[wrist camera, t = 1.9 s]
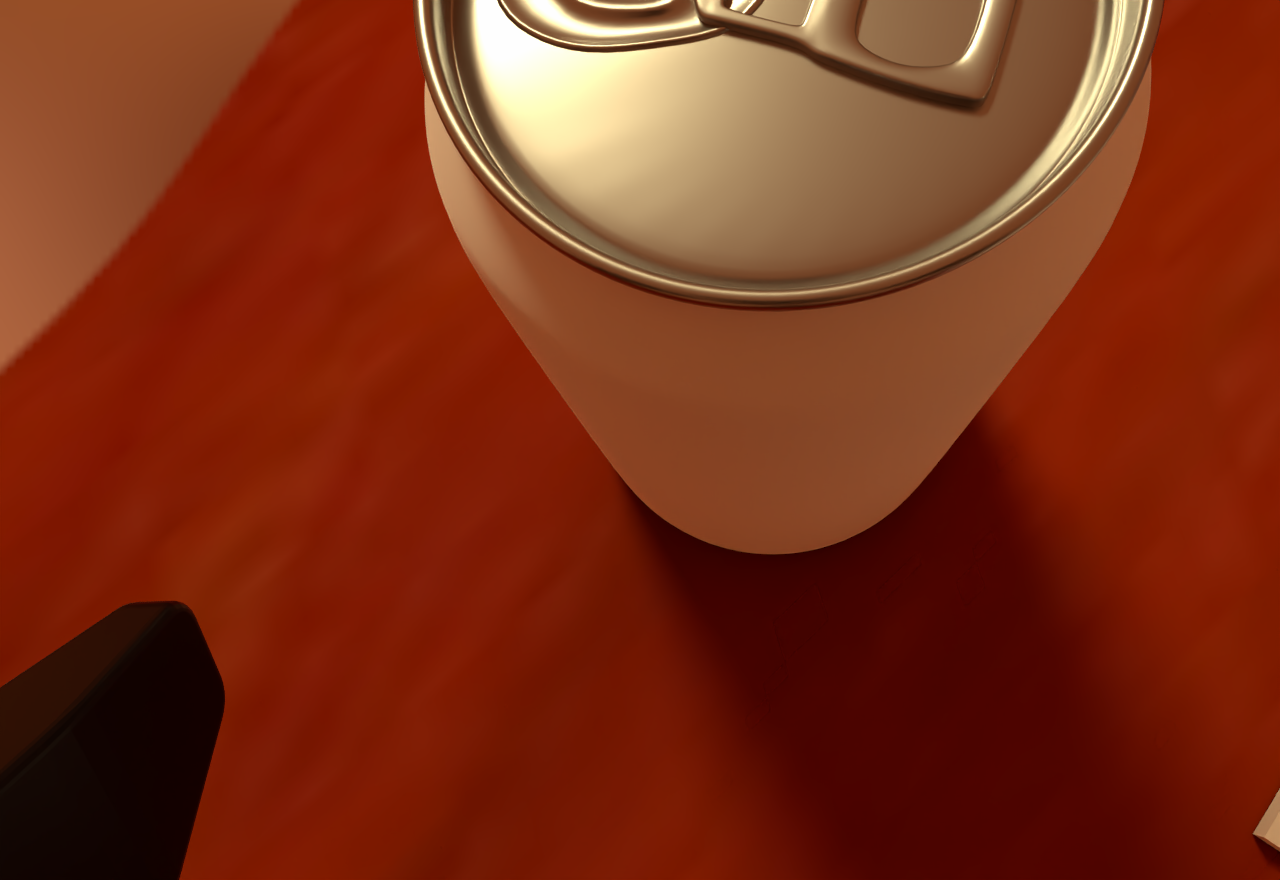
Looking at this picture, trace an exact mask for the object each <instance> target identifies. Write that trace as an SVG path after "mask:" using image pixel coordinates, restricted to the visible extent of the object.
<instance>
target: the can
mask: <svg viewBox="0 0 1280 880" xmlns="http://www.w3.org/2000/svg"><path fill="white" fill-rule="evenodd" d="M1163 7H1164V0H413V10H414V24H415V32H416V40H417V46H418V51H419V57H420V61H421V65H422V69H423V73H424V76H425V120H426V132H427V140H428V147H429V152H430V158H431V163H432V167H433V171H434V175H435V179H436V182H437V185H438V189H439V192H440V195H441V197H442V200H443V203H444V206H445V208H446V211H447V213H448V216H449V218H450V220H451V223H452V225H453V228H454V230H455V232H456V235H457V237H458V239H459V241H460V243H461V245H462V247H463V249H464V251H465V253H466V254H467V256H468V258H469V260H470V262H471V263H472V265H473V266H474V268H475V270H476V271H477V273H478V275H479V276H480V278H481V279H482V281H483V283H484V284H485V286H486V288H487V289H488V291H489V292H490V294H491V296H492V297H493V299H494V300H495V302H496V303H497V304H498V306H499V307H500V309H501V310H502V312H503V313H504V315H505V316H506V318H507V319H508V321H509V322H510V323H511V325H512V326H513V328H514V329H515V331H516V332H517V334H518V335H519V336H520V338H521V339H522V341H523V342H524V344H525V345H526V346H527V348H528V349H529V351H530V352H531V354H532V355H533V356H534V358H535V359H536V361H537V362H538V363H539V365H540V366H541V368H542V369H543V371H544V372H545V373H546V375H547V376H548V378H549V379H550V380H551V382H552V383H553V385H554V386H555V387H556V389H557V390H558V392H559V393H560V394H561V396H562V397H563V399H564V400H565V401H566V403H567V404H568V406H569V407H570V408H571V410H572V411H573V413H574V414H575V415H576V417H577V418H578V420H579V421H580V422H581V424H582V425H583V426H584V428H585V429H586V431H587V432H588V433H589V435H590V436H591V437H592V439H593V440H594V442H595V443H596V444H597V446H598V447H599V448H600V450H601V451H602V452H603V454H604V455H605V457H606V458H607V459H608V461H609V462H610V463H611V465H612V466H613V467H614V469H615V470H616V471H617V472H618V474H619V475H620V476H621V478H622V479H623V480H624V481H625V483H626V484H627V485H628V486H629V487H630V489H631V490H632V491H633V492H634V493H635V494H636V495H637V496H638V497H639V498H640V499H641V500H642V501H643V502H644V503H645V504H646V505H647V506H648V507H649V508H650V509H651V510H653V511H654V512H655V513H656V514H657V515H659V516H660V517H661V518H663V519H664V520H666V521H667V522H668V523H670V524H672V525H673V526H675V527H676V528H678V529H680V530H682V531H683V532H685V533H687V534H689V535H691V536H693V537H695V538H698V539H700V540H702V541H705V542H707V543H710V544H713V545H716V546H719V547H723V548H726V549H731V550H735V551H741V552H747V553H756V554H790V553H799V552H805V551H810V550H815V549H819V548H823V547H826V546H830V545H833V544H836V543H838V542H841V541H844V540H846V539H848V538H850V537H853V536H855V535H857V534H859V533H861V532H863V531H864V530H866V529H868V528H870V527H871V526H873V525H875V524H876V523H878V522H879V521H881V520H882V519H883V518H885V517H886V516H887V515H889V514H890V513H891V512H893V511H894V510H895V509H896V508H897V507H898V506H899V505H901V504H902V503H903V502H904V501H905V500H906V499H907V498H908V497H909V496H910V495H911V494H912V493H913V492H914V490H915V489H916V488H917V487H918V486H919V485H920V484H921V482H922V481H923V480H924V479H925V478H926V477H927V475H928V474H929V473H930V472H931V471H932V469H933V468H934V467H935V466H936V465H937V463H938V462H939V461H940V460H941V458H942V457H943V456H944V455H945V453H946V452H947V451H948V450H949V448H950V447H951V446H952V445H953V443H954V442H955V441H956V440H957V438H958V437H959V436H960V434H961V433H962V432H963V431H964V429H965V428H966V427H967V426H968V424H969V423H970V422H971V421H972V419H973V418H974V417H975V415H976V414H977V413H978V412H979V410H980V409H981V408H982V406H983V405H984V404H985V403H986V401H987V400H988V399H989V397H990V396H991V395H992V394H993V392H994V391H995V390H996V388H997V387H998V386H999V385H1000V383H1001V382H1002V381H1003V379H1004V378H1005V377H1006V376H1007V374H1008V373H1009V372H1010V370H1011V369H1012V368H1013V366H1014V365H1015V364H1016V363H1017V361H1018V360H1019V359H1020V357H1021V356H1022V355H1023V353H1024V352H1025V351H1026V350H1027V348H1028V347H1029V346H1030V344H1031V343H1032V342H1033V340H1034V339H1035V338H1036V336H1037V335H1038V334H1039V333H1040V331H1041V330H1042V329H1043V327H1044V326H1045V325H1046V323H1047V322H1048V321H1049V319H1050V318H1051V317H1052V315H1053V314H1054V313H1055V311H1056V310H1057V309H1058V307H1059V306H1060V305H1061V303H1062V302H1063V300H1064V299H1065V298H1066V296H1067V295H1068V294H1069V292H1070V291H1071V289H1072V288H1073V286H1074V285H1075V284H1076V282H1077V281H1078V279H1079V278H1080V276H1081V275H1082V273H1083V272H1084V270H1085V269H1086V267H1087V266H1088V264H1089V263H1090V261H1091V260H1092V258H1093V257H1094V255H1095V254H1096V252H1097V250H1098V249H1099V247H1100V245H1101V244H1102V242H1103V240H1104V238H1105V237H1106V235H1107V233H1108V231H1109V229H1110V227H1111V225H1112V223H1113V221H1114V219H1115V217H1116V215H1117V213H1118V210H1119V208H1120V206H1121V204H1122V202H1123V200H1124V197H1125V195H1126V193H1127V190H1128V188H1129V185H1130V183H1131V180H1132V178H1133V175H1134V172H1135V169H1136V166H1137V163H1138V159H1139V156H1140V152H1141V149H1142V145H1143V140H1144V136H1145V131H1146V126H1147V119H1148V113H1149V104H1150V92H1151V56H1152V53H1153V50H1154V46H1155V43H1156V39H1157V36H1158V32H1159V27H1160V23H1161V18H1162V13H1163Z"/></svg>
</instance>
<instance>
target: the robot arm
mask: <svg viewBox="0 0 1280 880" xmlns="http://www.w3.org/2000/svg"><path fill="white" fill-rule="evenodd" d="M224 705H225V691H224V686H223V681H222V678H221V675H220V673H219V671H218V668H217V666H216V664H215V661H214V659H213V657H212V654H211V652H210V650H209V647H208V645H207V643H206V640H205V638H204V636H203V633H202V631H201V629H200V626H199V624H198V622H197V619H196V617H195V615H194V614H193V612H192V610H191V609H190V608H189V607H188V606H187V605H185V604H184V603H181V602H178V601H154V602H135V603H129V604H126V605H123V606H122V607H120V608H118V609H117V610H115V611H114V612H112V613H111V614H109V615H108V616H106V617H105V618H103V619H102V620H100V621H99V622H97V623H96V624H94V625H93V626H91V627H90V628H88V629H87V630H85V631H84V632H82V633H81V634H79V635H78V636H76V637H75V638H74V639H72V640H71V641H69V642H68V643H66V644H65V645H63V646H62V647H60V648H59V649H57V650H56V651H54V652H53V653H51V654H50V655H48V656H47V657H45V658H44V659H42V660H41V661H39V662H38V663H36V664H35V665H33V666H32V667H30V668H29V669H27V670H26V671H24V672H23V673H21V674H20V675H18V676H17V677H15V678H14V679H12V680H11V681H9V682H8V683H6V684H5V685H3V686H2V687H1V688H0V880H179V878H180V874H181V871H182V867H183V863H184V859H185V856H186V852H187V848H188V845H189V841H190V837H191V833H192V830H193V826H194V822H195V818H196V815H197V811H198V807H199V803H200V800H201V796H202V792H203V789H204V785H205V781H206V777H207V774H208V770H209V766H210V762H211V759H212V755H213V751H214V747H215V744H216V740H217V736H218V733H219V729H220V725H221V721H222V718H223V713H224Z"/></svg>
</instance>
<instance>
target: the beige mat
mask: <svg viewBox="0 0 1280 880" xmlns="http://www.w3.org/2000/svg"><path fill="white" fill-rule="evenodd" d="M1253 834H1254V835H1255V836H1257V837H1258V838H1260V839H1261V840H1263V841H1264V842H1266V843H1267V844H1269V845H1270V846H1272V847H1273V848H1275V849H1276V850H1278V851H1279V852H1280V789H1279V791H1278V793H1277V794H1276V796H1275V798H1274V799H1273V801H1272V803H1271V804H1270V806H1269V808H1268V809H1267V811H1266V813H1265V815H1264V816H1263V818H1262V820H1261V821H1260V823H1259V825H1258V826H1257V828H1256V830H1255V831H1254V833H1253Z"/></svg>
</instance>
